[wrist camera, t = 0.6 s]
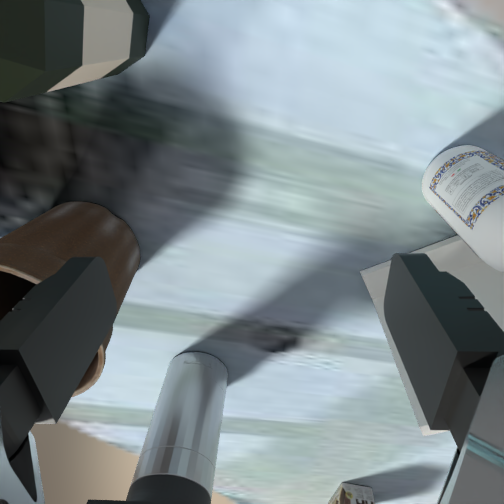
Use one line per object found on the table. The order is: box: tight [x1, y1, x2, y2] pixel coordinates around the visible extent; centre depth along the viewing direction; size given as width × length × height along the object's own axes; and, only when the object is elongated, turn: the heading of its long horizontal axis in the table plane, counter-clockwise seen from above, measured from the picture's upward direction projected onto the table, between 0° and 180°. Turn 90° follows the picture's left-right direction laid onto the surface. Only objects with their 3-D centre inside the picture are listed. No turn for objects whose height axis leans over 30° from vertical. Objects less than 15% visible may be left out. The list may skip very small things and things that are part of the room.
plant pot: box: [0, 201, 140, 397], centre depth 37 cm, size 16×16×16 cm
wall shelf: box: [360, 235, 504, 436], centre depth 36 cm, size 12×20×18 cm, turn 118°
